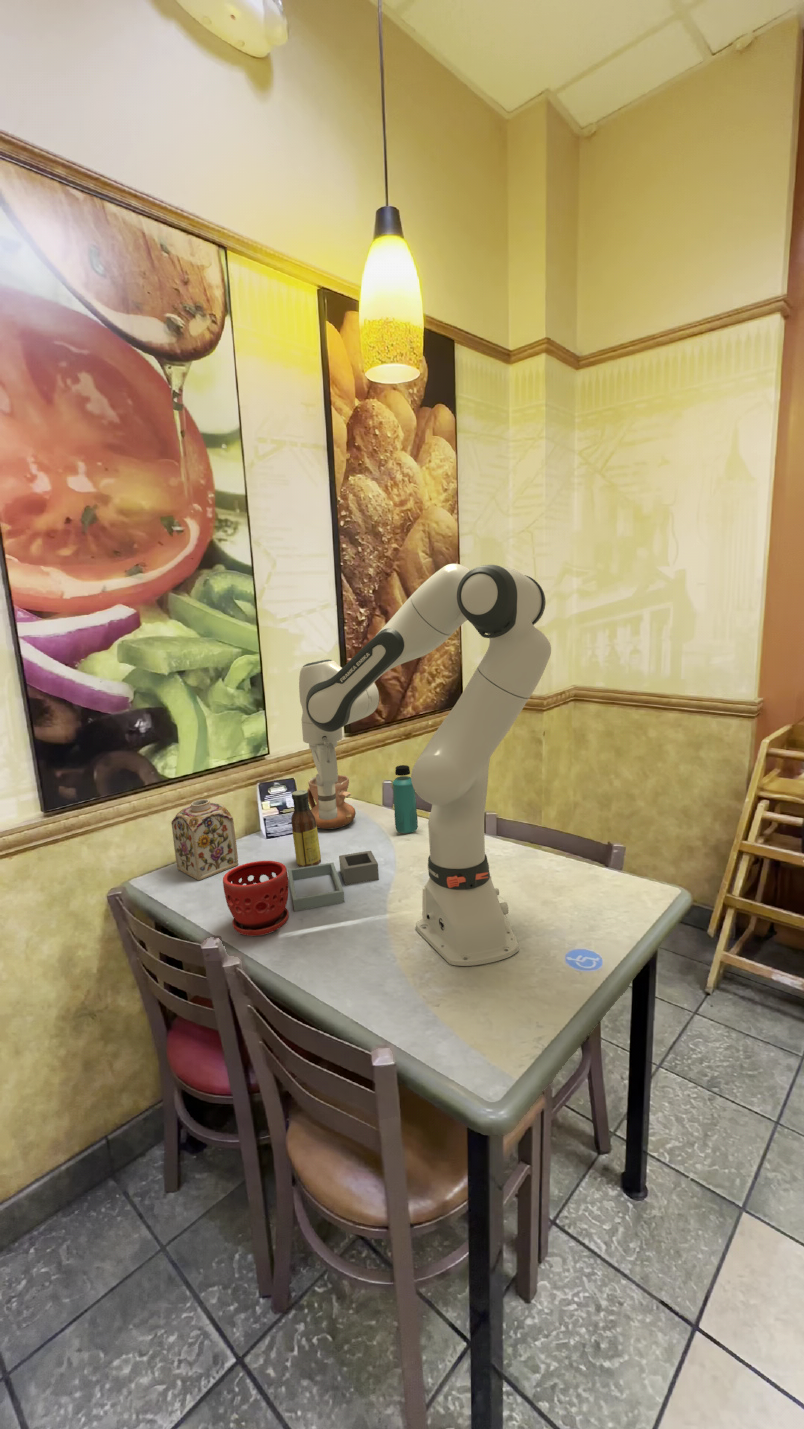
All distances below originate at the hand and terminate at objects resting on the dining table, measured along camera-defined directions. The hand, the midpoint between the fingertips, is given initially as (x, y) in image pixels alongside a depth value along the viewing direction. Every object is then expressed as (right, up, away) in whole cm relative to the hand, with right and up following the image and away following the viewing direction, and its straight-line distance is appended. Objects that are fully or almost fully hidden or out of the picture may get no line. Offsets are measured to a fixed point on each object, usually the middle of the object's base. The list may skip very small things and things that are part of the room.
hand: (326, 791), depth 139 cm
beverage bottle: (+19, -17, +34) cm, 42 cm away
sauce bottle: (-7, -21, +17) cm, 28 cm away
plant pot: (-13, -27, -10) cm, 32 cm away
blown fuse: (0, -6, +1) cm, 6 cm away
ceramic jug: (-4, -16, +46) cm, 48 cm away
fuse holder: (+7, -22, +8) cm, 24 cm away
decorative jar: (-33, -23, +19) cm, 45 cm away
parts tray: (-3, -24, +1) cm, 24 cm away
